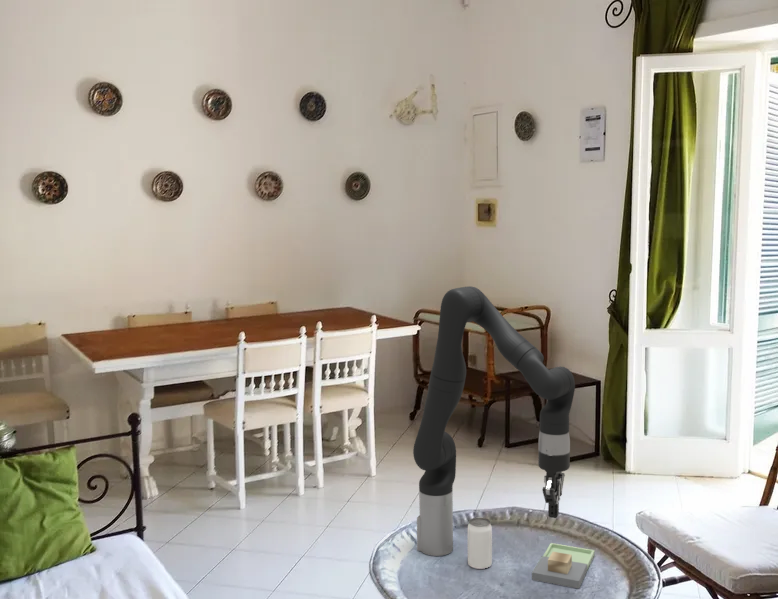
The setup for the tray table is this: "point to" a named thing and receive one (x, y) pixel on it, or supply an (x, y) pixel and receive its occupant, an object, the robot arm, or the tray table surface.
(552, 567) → the tan square block
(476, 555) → the can
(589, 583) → the tray table surface
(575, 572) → the plate
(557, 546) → the box
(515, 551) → the tray table surface
